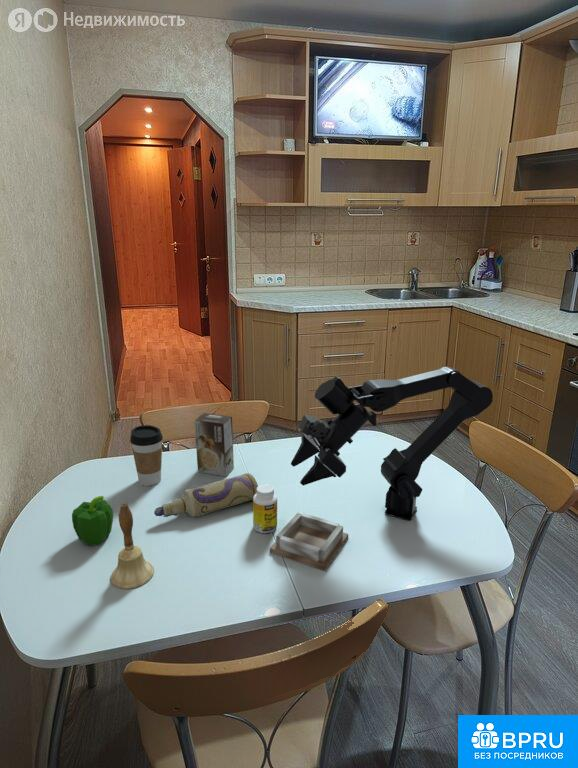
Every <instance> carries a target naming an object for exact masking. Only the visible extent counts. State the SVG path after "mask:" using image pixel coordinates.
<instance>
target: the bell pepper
mask: <svg viewBox="0 0 578 768" xmlns="http://www.w3.org/2000/svg"><path fill="white" fill-rule="evenodd" d="M71 520H72V527H73V529H74V531H75V534H76V536H77V538H78V539H79V540H80V541H81V542H83V543H84V544H86V545H87V546H96V545H101V543H103V542H104V541H105V539H106V538H108V537H109V536H110V534H111V532H112V528H113V522H114V511H113V508H112V506H111V505H110V504H109V503H108V502H107V501H106V499H104V496H103V495H99V496H95V497H94V498H93V499H92V500H91V501H83V502H81V504H79V505H78V506H77V507H76V508H74V509H73V511H72V513H71Z"/></svg>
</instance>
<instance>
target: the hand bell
mask: <svg viewBox="0 0 578 768" xmlns="http://www.w3.org/2000/svg"><path fill="white" fill-rule="evenodd" d="M118 523H119V524H118V525H119V527H120V530H121V532H122V535H123V546H124V547H123V548H122V549H121V550H120V551H118V556H117V557H118V558H117V566H116V567H115V569H114V570H113V571H112V573H111V575H110V582H111V584H112V585H113V586H115V587H116V588H118V589H124V590H129V589H135V588H138V587H141V586H143V585H145V584H146V583H148V582H149V581H150V580H151V579H152V577H153V576H154V573H155V570H154V566H153V565H152V563H150V561H147V560H146V559H145V557H144V555H143V551H142V549H141V547H139V546H137V545H134V540H133V527H134V517H133V513H132V511H131V509H130V507H129V505H128V503H127V502H125V503H122V504H120V507H119V512H118Z"/></svg>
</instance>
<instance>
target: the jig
mask: <svg viewBox="0 0 578 768" xmlns="http://www.w3.org/2000/svg"><path fill="white" fill-rule="evenodd" d="M275 538H276V539H275V541H274V543H273V544H271V546H270V547H269V553H272V554H275V555H278V556H281V557H284V558H286V559H289V560H291V561H295V562H297V563H300V564H304V565H307V566H310V567H313V568H315V569H317V570H322V571H323V572H325V571H326V570H327V569H328V568H329V566H330V565H331V564H332V562H333V560H334V558H335V557H336V556H337V554H338V553H339V552H340V550H342V547H343V546H344V545H345V543H346V542H347V541H348V539H349V533H347V532H344V526H343V525H341V524H340V523H339V522H336V521H332V520H329V519H326V518H321V517H319V516H315V515H312V514H307V513H306V512H305V513H304V512H303V513H300V512H297V513H296V514H295V515H294V516H293V517H292V518H291V519H290V521H289V522H287V524H286V525H285V526H284V527H283V528H282V529H281V530H280V531H279V532H278V533H277V534H276V535H275Z"/></svg>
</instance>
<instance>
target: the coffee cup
mask: <svg viewBox="0 0 578 768" xmlns="http://www.w3.org/2000/svg"><path fill="white" fill-rule="evenodd" d="M161 431H162V430H161V429H160V428H159V427H157V426H154V425H150V424H144V425H138V426H136V427H134V428H132V429H131V432H130V438H129V439H130V440H129V441H130V443H131V444H132V453H133V460H134V464H135V469H136V474H137V479H138V483H139V485H141V486H143V485H144V487H151V485H152V486H156V485H157V484H159V483H160V482H161V481H162V463H163V461H162V458H163V457H162V456H163V445H162V441H163V440H164V436H163V433H162V432H161Z"/></svg>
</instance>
